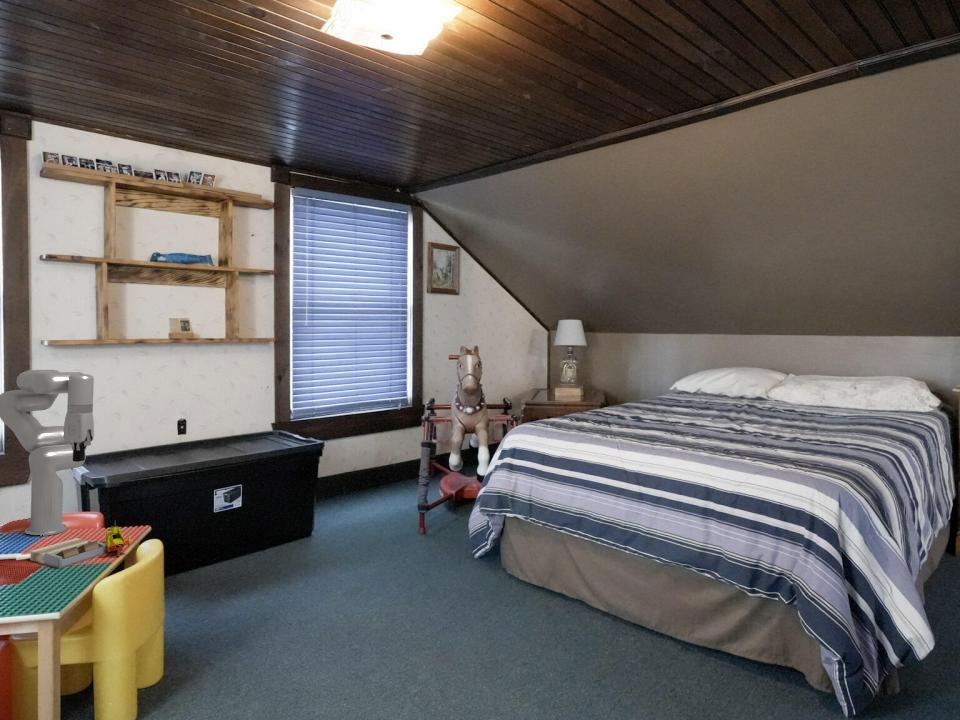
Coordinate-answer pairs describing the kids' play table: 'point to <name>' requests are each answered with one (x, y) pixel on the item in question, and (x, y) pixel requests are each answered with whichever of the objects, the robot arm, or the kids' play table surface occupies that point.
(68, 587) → the kids' play table surface
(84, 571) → the kids' play table surface
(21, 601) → the kids' play table surface
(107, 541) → the toy car
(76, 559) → the box
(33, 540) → the kids' play table surface
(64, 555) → the tile
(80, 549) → the tile
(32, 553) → the plate
